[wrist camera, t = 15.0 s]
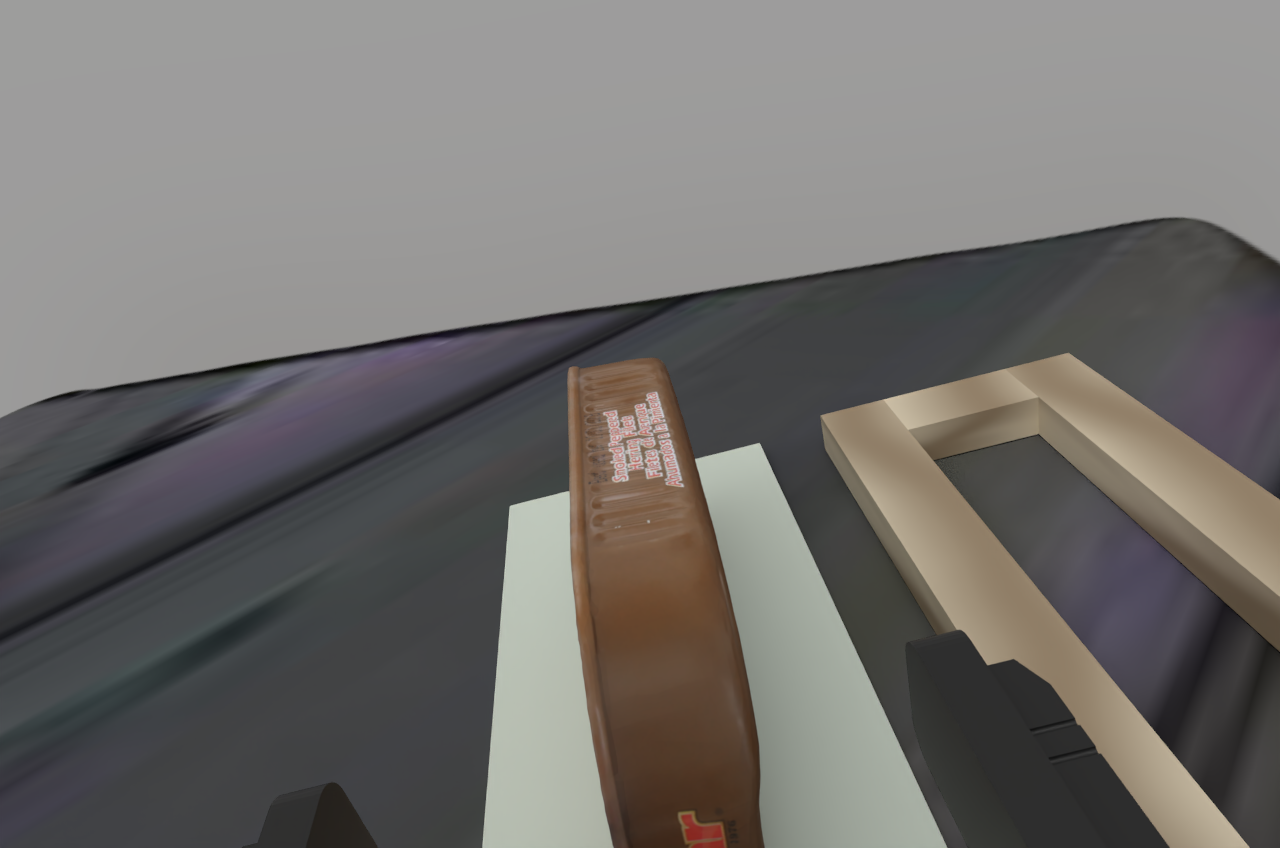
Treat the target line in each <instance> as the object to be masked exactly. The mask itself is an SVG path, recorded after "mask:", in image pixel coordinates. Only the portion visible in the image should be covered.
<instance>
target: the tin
mask: <svg viewBox="0 0 1280 848" xmlns="http://www.w3.org/2000/svg"><path fill="white" fill-rule="evenodd" d="M568 428H569V433H568V436H569V474H570V475H569V478H570V483H569V493H570V555H571V571H572V582H573V592H574V601H575V611H576V626H577V631H578V641H579V645H580V655H581V660H582V671H583V678H584V684H585V692H586V699H587V710H588V715H589V721H590V727H591V734H592V740H593V747H594V752H595V758H596V763H597V768H598V773H599V778H600V786H601V792H602V797H603V801H604V807H605V813H606V817H607V822H608V826H609V829H610V835H611V840H612V844H613V847H614V848H765V845H764V840H763V834H762V827H761V817H760V807H759V795H760V779H761V773H760V751H759V740H758V734H757V727H756V721H755V715H754V709H753V704H752V698H751V692H750V687H749V681H748V676H747V671H746V666H745V661H744V656H743V651H742V646H741V641H740V635H739V631H738V627H737V623H736V619H735V615H734V610H733V606H732V601H731V596H730V592H729V588H728V583H727V579H726V575H725V571H724V567H723V563H722V559H721V555H720V551H719V547H718V542H717V538H716V534H715V530H714V526H713V523H712V519H711V516H710V512H709V508H708V504H707V501H706V497H705V494H704V491H703V487H702V483H701V479H700V475H699V472H698V469H697V465H696V461H695V457H694V454H693V450H692V447H691V444H690V440H689V437H688V433H687V430H686V427H685V424H684V420H683V417H682V414H681V411H680V408H679V404H678V401H677V397H676V395H675V392H674V389H673V386H672V383H671V380H670V376H669V373H668V371H667V368H666V366H665V364H664V363H663V362H662V361H661V360H659V359H657V358H642V359H634V360H628V361H622V362H616V363H611V364H605V365H600V366H594V367H589V368H579V367H570V368H569V370H568Z"/></svg>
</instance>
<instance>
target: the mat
mask: <svg viewBox="0 0 1280 848" xmlns="http://www.w3.org/2000/svg"><path fill="white" fill-rule="evenodd" d="M695 461H696V465H697V469H698V472H699V475H700V479H701V483H702V487H703V491H704V494H705V497H706V501H707V504H708V508H709V512H710V516H711V519H712V523H713V526H714V530H715V534H716V538H717V542H718V547H719V551H720V555H721V559H722V563H723V567H724V571H725V575H726V579H727V583H728V588H729V592H730V596H731V601H732V606H733V610H734V615H735V619H736V623H737V627H738V631H739V635H740V641H741V646H742V651H743V656H744V661H745V666H746V671H747V676H748V681H749V687H750V692H751V698H752V704H753V709H754V715H755V721H756V727H757V734H758V740H759V751H760V773H761V779H760V795H759V807H760V817H761V827H762V834H763V840H764V845H765V848H947V846H946V844H945V842H944V840H943V837H942V835H941V833H940V831H939V829H938V827H937V825H936V822H935V820H934V818H933V816H932V814H931V812H930V809H929V807H928V805H927V803H926V801H925V799H924V796H923V794H922V792H921V790H920V788H919V786H918V784H917V781H916V779H915V777H914V775H913V773H912V771H911V768H910V766H909V764H908V762H907V760H906V758H905V755H904V753H903V751H902V749H901V747H900V745H899V743H898V740H897V738H896V736H895V734H894V732H893V730H892V727H891V725H890V723H889V721H888V719H887V717H886V715H885V712H884V710H883V708H882V706H881V704H880V702H879V699H878V697H877V695H876V693H875V691H874V689H873V686H872V684H871V682H870V680H869V678H868V676H867V674H866V671H865V669H864V667H863V665H862V663H861V661H860V658H859V656H858V654H857V652H856V650H855V648H854V645H853V643H852V641H851V639H850V637H849V635H848V633H847V630H846V628H845V626H844V624H843V622H842V620H841V617H840V615H839V613H838V611H837V609H836V607H835V605H834V602H833V600H832V598H831V596H830V594H829V592H828V589H827V587H826V585H825V583H824V581H823V579H822V576H821V574H820V572H819V570H818V568H817V566H816V564H815V561H814V559H813V557H812V555H811V553H810V551H809V548H808V546H807V544H806V542H805V540H804V538H803V535H802V533H801V531H800V529H799V527H798V525H797V523H796V520H795V518H794V516H793V514H792V512H791V510H790V507H789V505H788V503H787V501H786V499H785V497H784V495H783V492H782V490H781V488H780V486H779V484H778V482H777V479H776V477H775V475H774V473H773V471H772V469H771V466H770V464H769V462H768V460H767V458H766V456H765V454H764V451H763V449H762V447H761V445H760V443H758V444H754V445H750V446H746V447H742V448H738V449H734V450H730V451H726V452H722V453H718V454H714V455H710V456H706V457H702V458H698V459H695ZM482 848H614V847H613V844H612V840H611V835H610V829H609V826H608V822H607V817H606V813H605V807H604V801H603V797H602V792H601V786H600V778H599V773H598V768H597V763H596V758H595V752H594V747H593V740H592V734H591V727H590V721H589V715H588V710H587V699H586V692H585V684H584V678H583V671H582V660H581V655H580V645H579V641H578V631H577V626H576V611H575V601H574V592H573V582H572V571H571V555H570V493H569V491H567V492H563V493H559V494H555V495H551V496H547V497H543V498H539V499H535V500H531V501H527V502H524V503H520V504H516V505H512V506H510V511H509V523H508V536H507V548H506V561H505V573H504V585H503V598H502V610H501V623H500V635H499V647H498V660H497V672H496V685H495V697H494V709H493V722H492V734H491V747H490V759H489V771H488V784H487V796H486V809H485V821H484V833H483V846H482Z"/></svg>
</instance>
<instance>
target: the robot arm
mask: <svg viewBox="0 0 1280 848" xmlns="http://www.w3.org/2000/svg"><path fill="white" fill-rule="evenodd" d="M906 661H907V670H908V680H909V689H910V699H911V709H912V718H913V723H914V728H915V732H916V735H917V739H918V742H919V745H920V748H921V751H922V753H923V756H924V758H925V761H926V763H927V765H928V767H929V769H930V771H931V773H932V775H933V777H934V779H935V781H936V783H937V786H938V788H939V790H940V792H941V794H942V796H943V798H944V800H945V802H946V804H947V806H948V808H949V810H950V812H951V814H952V816H953V818H954V820H955V822H956V824H957V826H958V828H959V830H960V832H961V834H962V836H963V838H964V840H965V842H966V844H967V846H968V848H1170V847H1169V846H1168V844H1167V843H1166V842H1165V840H1164V839H1163V837H1162V836H1161V835H1160V833H1159V832H1158V831H1157V829H1156V828H1155V826H1154V825H1153V824H1152V822H1151V821H1150V820H1149V818H1148V817H1147V816H1146V814H1145V813H1144V811H1143V810H1142V809H1141V807H1140V806H1139V805H1138V803H1137V802H1136V800H1135V799H1134V798H1133V796H1132V795H1131V794H1130V792H1129V791H1128V789H1127V788H1126V787H1125V785H1124V784H1123V783H1122V781H1121V780H1120V779H1119V777H1118V776H1117V774H1116V773H1115V772H1114V770H1113V769H1112V768H1111V766H1110V765H1109V763H1108V762H1107V761H1106V759H1105V758H1104V757H1103V755H1102V754H1101V753H1100V754H1099V753H1098V751H1097V749H1096V746H1095V744H1094V743H1093V742H1092V740H1091V739H1090V737H1089V736H1088V735H1087V733H1086V732H1085V731H1084V729H1083V728H1082V727H1081V725H1078V724H1077V722H1076V720H1075V717H1074V716H1073V714H1072V713H1071V711H1070V710H1069V709H1068V707H1067V706H1066V705H1065V703H1064V702H1063V700H1062V699H1061V698H1060V696H1059V695H1058V694H1057V692H1056V691H1055V690H1054V688H1053V687H1052V685H1051V684H1050V683H1048V682H1047V681H1045V680H1044V679H1042V678H1041V677H1039V676H1038V675H1037V674H1035V673H1034V672H1032V671H1031V670H1029V669H1028V668H1026V667H1025V666H1024V665H1022V664H1021V663H1019V662H1018V661H1016V660H1015V659H1012V660H1007V661H1003V662H999V663H995V664H991V665H987V664H986V662H985V661H984V659H983V658H982V656H981V655H980V653H979V652H978V650H977V649H976V647H975V646H974V644H973V643H972V641H971V640H970V638H969V637H968V636H967V634H966V633H965V632H964V631H962V630H955V631H951V632H947V633H943V634H939V635H935V636H931V637H927V638H923V639H919V640H915V641H910V642H907V643H906ZM242 848H378V847H377V845H376V843H375V842H374V840H373V838H372V837H371V835H370V834H369V832H368V830H367V829H366V827H365V825H364V824H363V822H362V820H361V819H360V817H359V815H358V814H357V812H356V811H355V809H354V807H353V806H352V804H351V802H350V801H349V799H348V797H347V796H346V794H345V792H344V791H343V789H342V788H341V787H340V786H339V785H338V784H336V783H328V784H324V785H320V786H316V787H312V788H308V789H303V790H299V791H295V792H291V793H287V794H283V795H280V796H278V797H277V798H276V799H275V800H274V801H273V803H272V804H271V806H270V809H269V811H268V814H267V817H266V820H265V823H264V826H263V829H262V832H261V835H260V838H259V840H258V843H255V844H251V845H247V846H243V847H242Z"/></svg>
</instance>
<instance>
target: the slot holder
mask: <svg viewBox="0 0 1280 848" xmlns="http://www.w3.org/2000/svg"><path fill="white" fill-rule="evenodd" d="M820 417H821V424H822V431H823V437H824V444H825V450H826V451H827V453H828V455H829V456H830V458H831V460H832V461H833V463H834V465H835V466H836V468H837V470H838V471H839V473H840V475H841V476H842V478H843V480H844V481H845V483H846V485H847V486H848V488H849V490H850V491H851V493H852V495H853V496H854V498H855V500H856V501H857V503H858V505H859V506H860V508H861V510H862V511H863V513H864V515H865V516H866V518H867V520H868V521H869V523H870V525H871V526H872V528H873V530H874V531H875V533H876V535H877V536H878V538H879V540H880V541H881V543H882V545H883V546H884V548H885V550H886V551H887V553H888V555H889V556H890V558H891V560H892V561H893V563H894V565H895V566H896V568H897V570H898V571H899V573H900V575H901V576H902V578H903V580H904V581H905V583H906V585H907V586H908V588H909V590H910V591H911V593H912V595H913V596H914V598H915V600H916V601H917V603H918V605H919V606H920V608H921V610H922V611H923V613H924V615H925V616H926V618H927V620H928V621H929V623H930V625H931V626H932V628H933V629H934V631H935V633H936V634H937V635H939V634H943V633H947V632H951V631H955V630H962V631H964V632H965V633H966V634H967V636H968V637H969V638H970V640H971V641H972V643H973V644H974V646H975V647H976V649H977V650H978V652H979V653H980V655H981V656H982V658H983V659H984V661H985V662H986V664H987V665H991V664H995V663H999V662H1003V661H1007V660H1012V659H1015V660H1016V661H1018V662H1019V663H1021V664H1022V665H1024V666H1025V667H1026V668H1028V669H1029V670H1031V671H1032V672H1034V673H1035V674H1037V675H1038V676H1039V677H1041V678H1042V679H1044V680H1045V681H1047V682H1048V683H1050V684H1051V685H1052V687H1053V688H1054V690H1055V691H1056V692H1057V694H1058V695H1059V696H1060V698H1061V699H1062V700H1063V702H1064V703H1065V705H1066V706H1067V707H1068V709H1069V710H1070V711H1071V713H1072V714H1073V716H1074V717H1075V720H1076V722H1077V724H1078V725H1081V727H1082V728H1083V729H1084V731H1085V732H1086V733H1087V735H1088V736H1089V737H1090V739H1091V740H1092V742H1093V743H1094V744H1095V746H1096V749H1097V751H1098V753H1099V754H1100V753H1101V754H1102V755H1103V757H1104V758H1105V759H1106V761H1107V762H1108V763H1109V765H1110V766H1111V768H1112V769H1113V770H1114V772H1115V773H1116V774H1117V776H1118V777H1119V779H1120V780H1121V781H1122V783H1123V784H1124V785H1125V787H1126V788H1127V789H1128V791H1129V792H1130V794H1131V795H1132V796H1133V798H1134V799H1135V800H1136V802H1137V803H1138V805H1139V806H1140V807H1141V809H1142V810H1143V811H1144V813H1145V814H1146V816H1147V817H1148V818H1149V820H1150V821H1151V822H1152V824H1153V825H1154V826H1155V828H1156V829H1157V831H1158V832H1159V833H1160V835H1161V836H1162V837H1163V839H1164V840H1165V842H1166V843H1167V844H1168V846H1169V847H1170V848H1250V847H1249V846H1248V845H1247V844H1246V843H1245V841H1244V840H1243V839H1242V838H1241V836H1240V835H1239V834H1238V833H1237V832H1236V830H1235V829H1234V828H1233V827H1232V825H1231V824H1230V823H1229V822H1228V821H1227V819H1226V818H1225V817H1224V816H1223V814H1222V813H1221V812H1220V811H1219V810H1218V808H1217V807H1216V806H1215V805H1214V803H1213V802H1212V801H1211V800H1210V799H1209V797H1208V796H1207V795H1206V794H1205V792H1204V791H1203V790H1202V789H1201V788H1200V786H1199V785H1198V784H1197V783H1196V781H1195V780H1194V779H1193V778H1192V777H1191V775H1190V774H1189V773H1188V772H1187V770H1186V769H1185V768H1184V767H1183V766H1182V764H1181V763H1180V762H1179V761H1178V759H1177V758H1176V757H1175V756H1174V755H1173V753H1172V752H1171V751H1170V750H1169V748H1168V747H1167V746H1166V745H1165V744H1164V742H1163V741H1162V740H1161V739H1160V737H1159V736H1158V735H1157V734H1156V733H1155V731H1154V730H1153V729H1152V728H1151V726H1150V725H1149V724H1148V723H1147V722H1146V720H1145V719H1144V718H1143V717H1142V715H1141V714H1140V713H1139V712H1138V711H1137V709H1136V708H1135V707H1134V706H1133V704H1132V703H1131V702H1130V701H1129V700H1128V698H1127V697H1126V696H1125V695H1124V693H1123V692H1122V691H1121V690H1120V688H1119V687H1118V686H1117V685H1116V684H1115V682H1114V681H1113V680H1112V679H1111V677H1110V676H1109V675H1108V674H1107V673H1106V671H1105V670H1104V669H1103V668H1102V666H1101V665H1100V664H1099V663H1098V662H1097V660H1096V659H1095V658H1094V657H1093V655H1092V654H1091V653H1090V652H1089V651H1088V649H1087V648H1086V647H1085V646H1084V644H1083V643H1082V642H1081V641H1080V640H1079V638H1078V637H1077V636H1076V635H1075V633H1074V632H1073V631H1072V630H1071V629H1070V627H1069V626H1068V625H1067V624H1066V622H1065V621H1064V620H1063V619H1062V618H1061V616H1060V615H1059V614H1058V613H1057V611H1056V610H1055V609H1054V608H1053V607H1052V605H1051V604H1050V603H1049V602H1048V600H1047V599H1046V598H1045V597H1044V596H1043V594H1042V593H1041V592H1040V591H1039V589H1038V588H1037V587H1036V586H1035V585H1034V583H1033V582H1032V581H1031V580H1030V578H1029V577H1028V576H1027V575H1026V574H1025V572H1024V571H1023V570H1022V569H1021V567H1020V566H1019V565H1018V564H1017V563H1016V561H1015V560H1014V559H1013V558H1012V556H1011V555H1010V554H1009V553H1008V552H1007V550H1006V549H1005V548H1004V547H1003V545H1002V544H1001V543H1000V542H999V541H998V539H997V538H996V537H995V536H994V534H993V533H992V532H991V531H990V530H989V528H988V527H987V526H986V525H985V523H984V522H983V521H982V520H981V519H980V517H979V516H978V515H977V514H976V512H975V511H974V510H973V509H972V507H971V506H970V505H969V504H968V503H967V501H966V500H965V499H964V498H963V496H962V495H961V494H960V493H959V492H958V490H957V489H956V488H955V487H954V485H953V484H952V483H951V482H950V481H949V479H948V478H947V477H946V476H945V474H944V473H943V472H942V471H941V470H940V468H939V467H938V466H937V465H936V463H935V462H934V461H933V460H937V459H941V458H945V457H949V456H953V455H957V454H961V453H965V452H969V451H973V450H977V449H981V448H985V447H989V446H993V445H997V444H1001V443H1005V442H1009V441H1013V440H1017V439H1021V438H1025V437H1029V436H1033V435H1037V434H1039V435H1040V436H1041V437H1043V438H1044V439H1045V440H1046V441H1047V442H1048V443H1049V444H1050V445H1051V446H1052V447H1054V448H1055V449H1056V450H1057V451H1058V452H1059V453H1060V454H1061V455H1062V456H1064V457H1065V458H1066V459H1067V460H1068V461H1069V462H1070V463H1071V464H1072V465H1074V466H1075V467H1076V468H1077V469H1078V470H1079V471H1080V472H1081V473H1082V474H1083V475H1085V476H1086V477H1087V478H1088V479H1089V480H1090V481H1091V482H1092V483H1093V484H1095V485H1096V486H1097V487H1098V488H1099V489H1100V490H1101V491H1102V492H1103V493H1104V494H1106V495H1107V496H1108V497H1109V498H1110V499H1111V500H1112V501H1113V502H1114V503H1116V504H1117V505H1118V506H1119V507H1120V508H1121V509H1122V510H1123V511H1124V512H1126V513H1127V514H1128V515H1129V516H1130V517H1131V518H1132V519H1133V520H1134V521H1135V522H1137V523H1138V524H1139V525H1140V526H1141V527H1142V528H1143V529H1144V530H1145V531H1147V532H1148V533H1149V534H1150V535H1151V536H1152V537H1153V538H1154V539H1155V540H1157V541H1158V542H1159V543H1160V544H1161V545H1162V546H1163V547H1164V548H1165V549H1166V550H1168V551H1169V552H1170V553H1171V554H1172V555H1173V556H1174V557H1175V558H1176V559H1178V560H1179V561H1180V562H1181V563H1182V564H1183V565H1184V566H1185V567H1186V568H1187V569H1189V570H1190V571H1191V572H1192V573H1193V574H1194V575H1195V576H1196V577H1197V578H1199V579H1200V580H1201V581H1202V582H1203V583H1204V584H1205V585H1206V586H1207V587H1209V588H1210V589H1211V590H1212V591H1213V592H1214V593H1215V594H1216V595H1217V596H1218V597H1220V598H1221V599H1222V600H1223V601H1224V602H1225V603H1226V604H1227V605H1228V606H1230V607H1231V608H1232V609H1233V610H1234V611H1235V612H1236V613H1237V614H1238V615H1239V616H1241V617H1242V618H1243V619H1244V620H1245V621H1246V622H1247V623H1248V624H1249V625H1251V626H1252V627H1253V628H1254V629H1255V630H1256V631H1257V632H1258V633H1259V634H1261V635H1262V636H1263V637H1264V638H1265V639H1266V640H1267V641H1268V642H1269V643H1270V644H1272V645H1273V646H1274V647H1275V648H1276V649H1277V650H1278V651H1279V652H1280V500H1279V499H1278V498H1276V497H1275V496H1274V495H1272V494H1271V493H1269V492H1268V491H1266V490H1265V489H1263V488H1262V487H1261V486H1259V485H1258V484H1256V483H1255V482H1253V481H1252V480H1251V479H1249V478H1248V477H1246V476H1245V475H1243V474H1242V473H1240V472H1239V471H1238V470H1236V469H1235V468H1233V467H1232V466H1230V465H1229V464H1227V463H1226V462H1225V461H1223V460H1222V459H1220V458H1219V457H1217V456H1216V455H1215V454H1213V453H1212V452H1210V451H1209V450H1207V449H1206V448H1204V447H1203V446H1202V445H1200V444H1199V443H1197V442H1196V441H1194V440H1193V439H1192V438H1190V437H1189V436H1187V435H1186V434H1184V433H1183V432H1181V431H1180V430H1179V429H1177V428H1176V427H1174V426H1173V425H1171V424H1170V423H1169V422H1167V421H1166V420H1164V419H1163V418H1161V417H1160V416H1158V415H1157V414H1156V413H1154V412H1153V411H1151V410H1150V409H1148V408H1147V407H1145V406H1144V405H1143V404H1141V403H1140V402H1138V401H1137V400H1135V399H1134V398H1133V397H1131V396H1130V395H1128V394H1127V393H1125V392H1124V391H1122V390H1121V389H1120V388H1118V387H1117V386H1115V385H1114V384H1112V383H1111V382H1110V381H1108V380H1107V379H1105V378H1104V377H1102V376H1101V375H1099V374H1098V373H1097V372H1095V371H1094V370H1092V369H1091V368H1089V367H1088V366H1086V365H1085V364H1084V363H1082V362H1081V361H1079V360H1078V359H1076V358H1075V357H1074V356H1072V355H1071V354H1069V353H1066V354H1063V355H1059V356H1055V357H1051V358H1047V359H1043V360H1039V361H1035V362H1031V363H1027V364H1023V365H1019V366H1015V367H1011V368H1007V369H1003V370H999V371H995V372H991V373H987V374H983V375H979V376H975V377H971V378H967V379H963V380H959V381H955V382H951V383H947V384H944V385H940V386H936V387H932V388H928V389H924V390H920V391H916V392H912V393H908V394H904V395H900V396H896V397H892V398H888V399H884V400H880V401H876V402H872V403H868V404H864V405H860V406H856V407H852V408H848V409H844V410H840V411H836V412H832V413H828V414H825V415H821V416H820Z"/></svg>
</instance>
